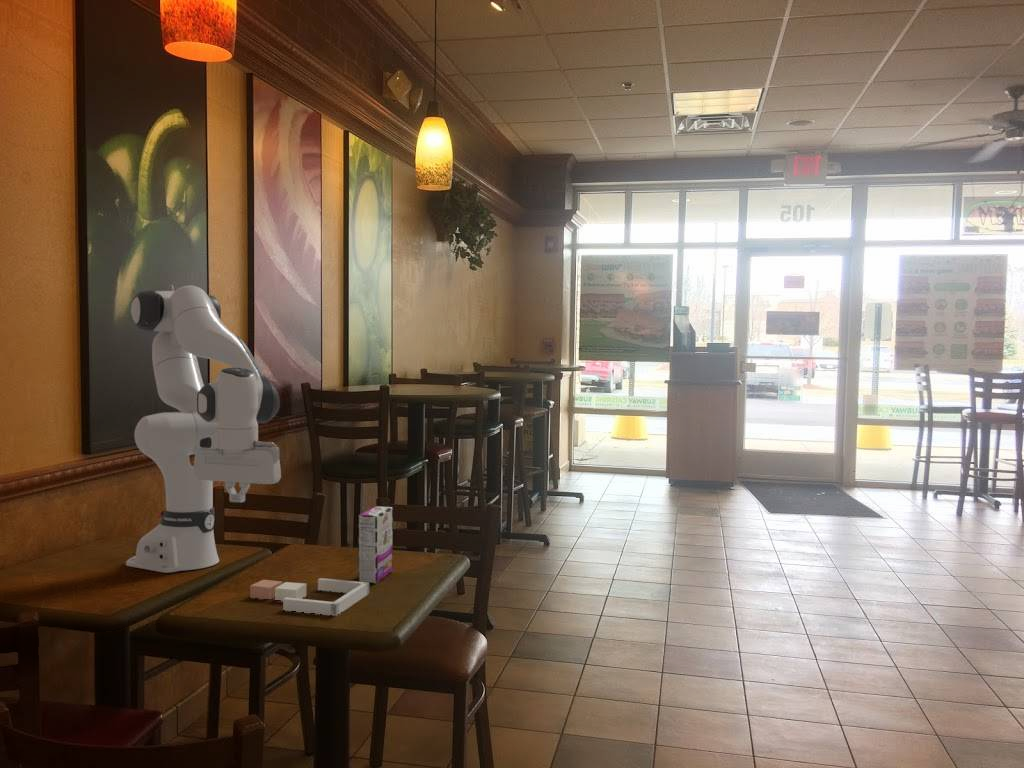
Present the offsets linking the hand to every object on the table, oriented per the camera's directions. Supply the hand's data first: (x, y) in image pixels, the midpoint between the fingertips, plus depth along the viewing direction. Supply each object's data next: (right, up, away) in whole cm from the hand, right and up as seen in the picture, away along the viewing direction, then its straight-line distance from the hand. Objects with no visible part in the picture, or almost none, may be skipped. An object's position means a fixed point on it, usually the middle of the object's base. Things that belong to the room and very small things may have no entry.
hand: (237, 501), depth 179 cm
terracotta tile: (+7, -21, -1) cm, 22 cm away
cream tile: (+13, -21, -3) cm, 25 cm away
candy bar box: (+29, -21, +15) cm, 38 cm away
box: (+21, -21, -5) cm, 31 cm away
